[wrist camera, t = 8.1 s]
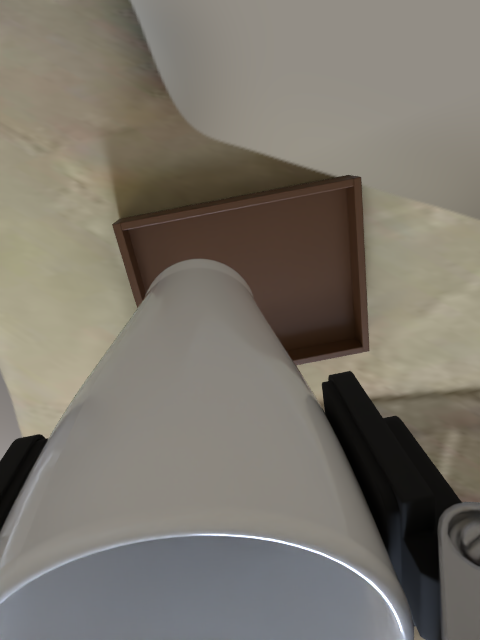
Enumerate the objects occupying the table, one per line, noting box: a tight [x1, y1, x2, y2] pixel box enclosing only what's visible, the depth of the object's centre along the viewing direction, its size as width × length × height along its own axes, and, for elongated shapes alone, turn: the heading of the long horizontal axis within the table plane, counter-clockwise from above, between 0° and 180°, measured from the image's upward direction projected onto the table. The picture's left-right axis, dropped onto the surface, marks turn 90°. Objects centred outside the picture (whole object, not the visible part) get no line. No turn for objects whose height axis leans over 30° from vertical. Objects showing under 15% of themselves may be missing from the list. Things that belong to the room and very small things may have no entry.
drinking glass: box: [0, 259, 414, 640], centre depth 12 cm, size 7×7×15 cm
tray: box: [112, 175, 369, 365], centre depth 34 cm, size 19×15×3 cm
